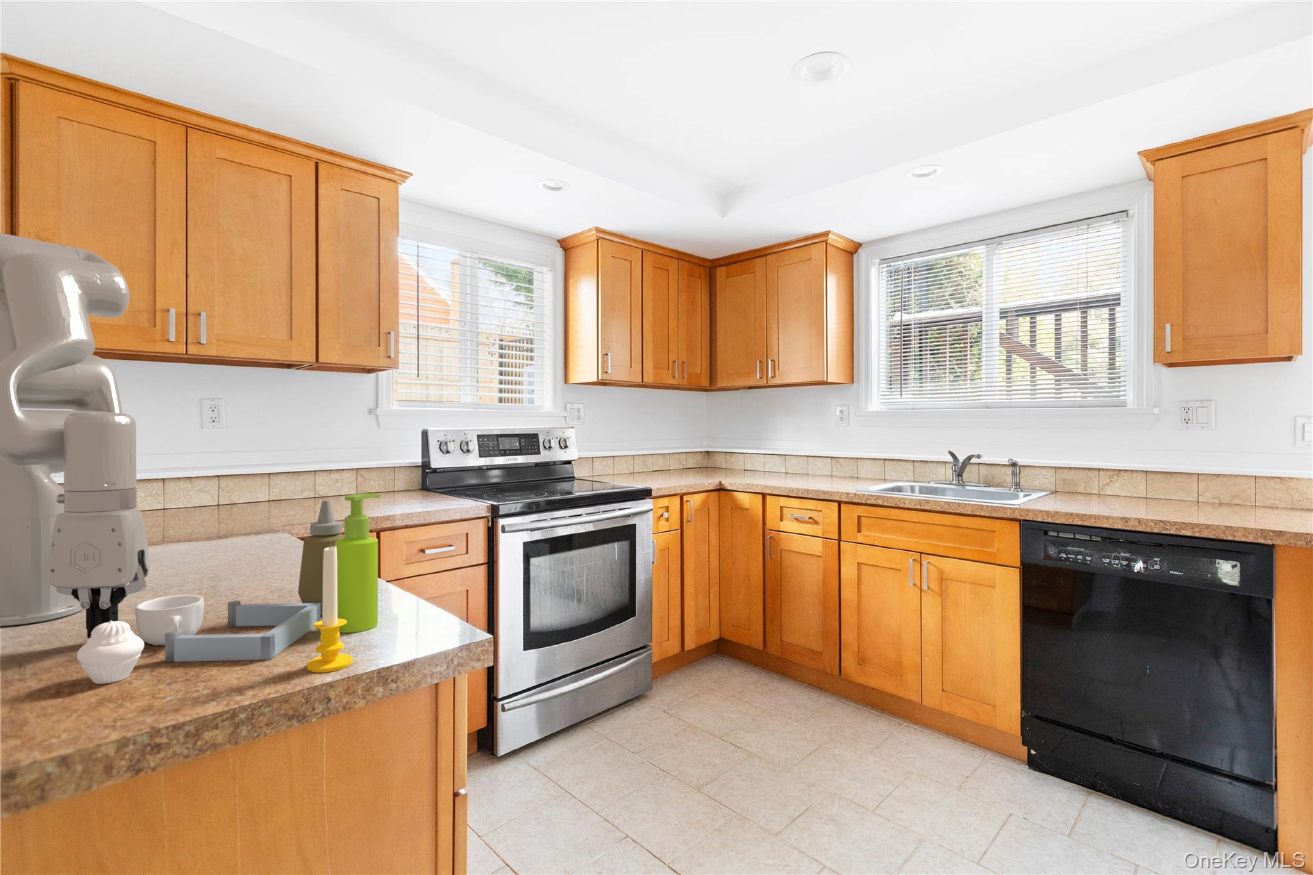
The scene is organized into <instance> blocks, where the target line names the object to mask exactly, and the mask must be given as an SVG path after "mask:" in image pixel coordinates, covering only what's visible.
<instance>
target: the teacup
mask: <svg viewBox="0 0 1313 875" xmlns="http://www.w3.org/2000/svg"><path fill="white" fill-rule="evenodd" d="M204 609H205V599H204V597H203V596H201V595H196V594H177V595H168V596H162V597H161V596H160V597H155V598H151V599H148V600H145V601H142V602H139V603H138V604H137V605H136V607H135V610H134V611H135V619H136V620H135V621H136V628H137V632H138V637H139V638H141V639H142V640H143V642H144V643H147V644H150V645H151V644H152V646H158V645H161V646H165V634H166V633H168V632H172V631H180V632H181V635H197V632H198V631H199V630H200V628H201V626H202V625H203V620H204V612H205V611H204Z"/></svg>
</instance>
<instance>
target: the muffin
mask: <svg viewBox="0 0 1313 875" xmlns="http://www.w3.org/2000/svg"><path fill="white" fill-rule="evenodd" d="M144 649H145V641H144V640H142V639H141V637H140V636H139V635H137V634H135V632H134V631H132V630H131V625H130V624H129V623H127V622H125V621H122V620H120V621H119V620H118V621H110V622H107V623H103V624H100V625H98V626H97V627H95V628H94V629H93V631H92V632H91V637H90V638H87V640H86V643H84V644H83V645H82V646H81V647H80V648H79V649H78V650H77V653H76V659H77V660H78V662H79V663H80V668H81V669H82V670H83V671H84V672H85V673H86V675H87V676H88V677H89V678H90V680H91V681H92V682H93V684H96V685H97V684H98V685H102V684H103V685H106V684H113V683H116V682H120V681H122V680H125V679H127V678H128V677H129V676H130V675H131V673H132V671H133V669H134V667H135V666H136V664H137V662H138V661H139V659H140V657H141V655H142V652H143V650H144Z"/></svg>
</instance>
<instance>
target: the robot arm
mask: <svg viewBox="0 0 1313 875" xmlns="http://www.w3.org/2000/svg"><path fill="white" fill-rule="evenodd" d="M130 298H131V296H130V288H129V286H128V282H127V280H126V278H125V276H124V274H122V272H121V271H120V269H119V268H117V267H116V266H115V265H114V264H113V263H111V262H110V261H108V260H106V259H105V258H103V257H102V256H99V255H98V254H96V253H94V252H93V251H91V250H88V249H83V248H79V247H76V246H70V245H69V246H68V245H64V244H60V243H59V244H58V243H54V242H49V241H43V240H39V239H34V238H30V237H29V238H28V237H24V236H17V235H13V234H7V233H0V627H6V626H9V627H10V626H20V625H26V624H28V625H29V624H34V623H41V622H45V621H51V620H55V619H59V618H63V617H66V616H67V617H68V616H70V615H73V614H76V613H78V612H80V611H82V610H85V628H86V629H85V630H86V638H87V639H90V637H91V632H92V631H93V629H94V628H95V627H97V626H98V625H100V624H103V623H107V622H110V621H119V604H122V602H123V601H124V599H125V598H126V597H127V596H128V595H131V594H136V593H139V592H141V591H145V590H146V589H147V587H148V586H147V582H146V577H147V576H148V574H149V570H150V569H149V568H150V567H149V566H150V555H149V543H148V536H147V529H146V524H145V520H144V517H143V513H142V511H141V510H140V509H139V510H138V507H137V505H138V504H137V503H138V502H137V495H138V494H137V489H138V488H137V423H136V421H135V419H134V417H133V416H132V415H130V414H128V413H123V407H122V404H121V403H122V402H121V397H120V392H119V386H118V382H117V377H116V375H115V372H114V370H113V368H112V367H111V365H110V364H109V363H108V362H107V361H106V360H105V359H103V358H102V357H100V356H97V355H93V354H94V352H95V350H96V343H95V340H94V339H95V338H94V335H93V330H92V328H91V323H90V319H89V316H94V317H101V318H102V317H103V318H117V317H118V318H119V317H120V316H123V315H124V313H125V312H126V311H127V309H128V307H129V305H130V300H131V299H130ZM60 473H63V487H62V486H61V485H59V483H57V482H56V481H55V480H54V479H53V478H52V476H51V475H52V474H60Z"/></svg>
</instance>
